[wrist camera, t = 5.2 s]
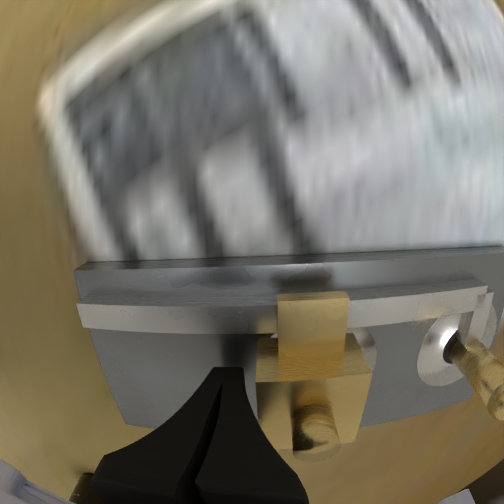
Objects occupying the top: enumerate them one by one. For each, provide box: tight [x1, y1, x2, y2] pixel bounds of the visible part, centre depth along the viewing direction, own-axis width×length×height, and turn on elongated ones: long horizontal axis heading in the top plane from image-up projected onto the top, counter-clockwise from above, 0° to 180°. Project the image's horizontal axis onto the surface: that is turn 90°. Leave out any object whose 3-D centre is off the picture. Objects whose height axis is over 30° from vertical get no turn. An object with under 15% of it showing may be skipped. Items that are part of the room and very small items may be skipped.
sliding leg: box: [255, 291, 372, 462], centre depth 10 cm, size 4×6×4 cm, turn 3°
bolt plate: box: [74, 246, 504, 429], centre depth 10 cm, size 22×10×7 cm, turn 93°
